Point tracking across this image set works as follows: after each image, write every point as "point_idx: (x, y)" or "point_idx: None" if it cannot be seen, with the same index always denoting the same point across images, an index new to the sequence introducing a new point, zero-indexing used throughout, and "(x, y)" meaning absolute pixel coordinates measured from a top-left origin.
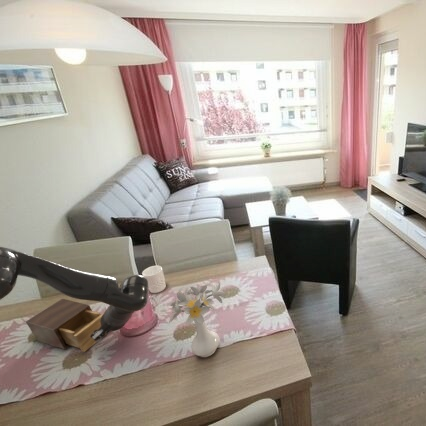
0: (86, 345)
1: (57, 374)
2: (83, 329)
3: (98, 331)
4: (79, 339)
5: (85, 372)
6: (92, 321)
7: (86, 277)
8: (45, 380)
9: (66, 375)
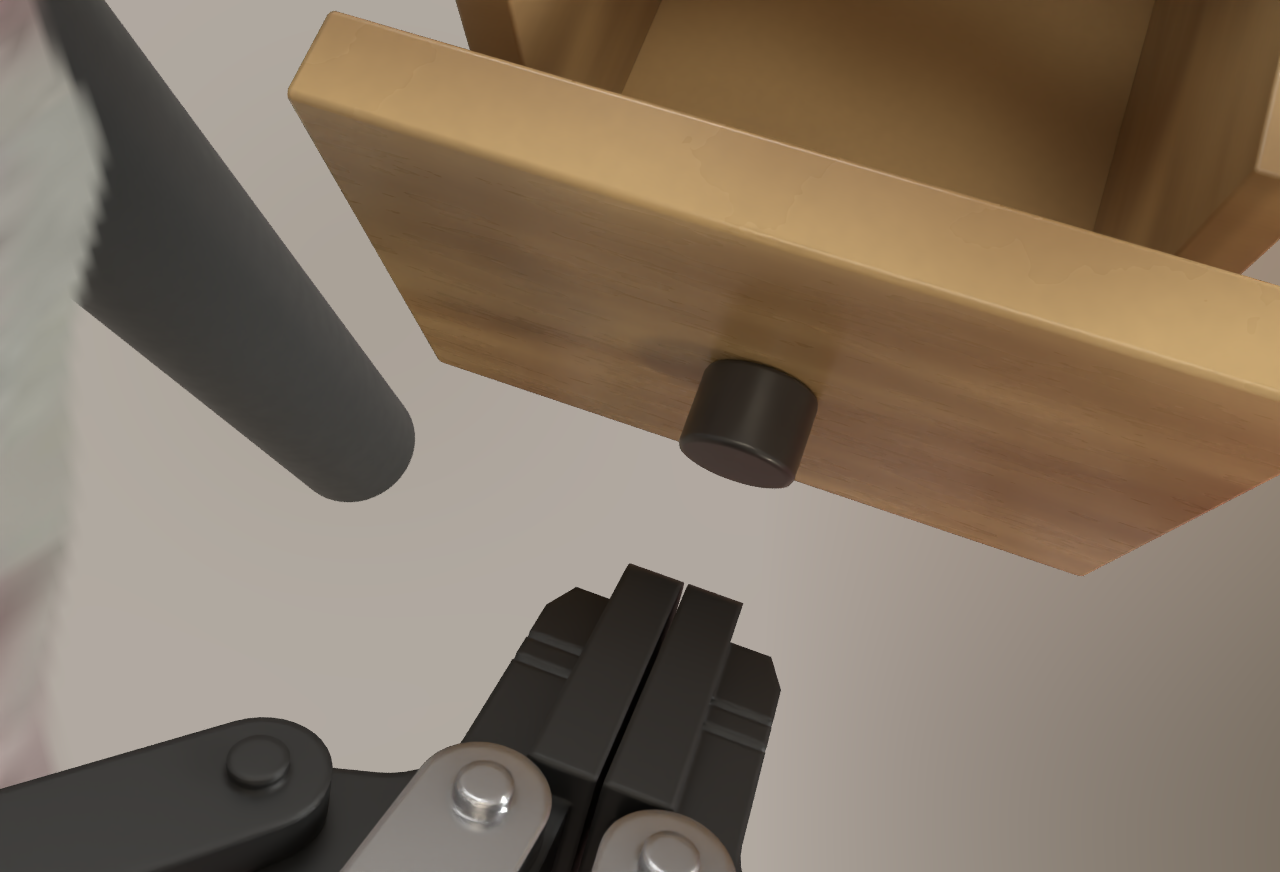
0: (500, 348)
1: (85, 196)
2: (548, 143)
3: (195, 869)
4: (378, 205)
5: (6, 658)
6: (902, 200)
7: None
8: (11, 97)
9: (26, 353)
